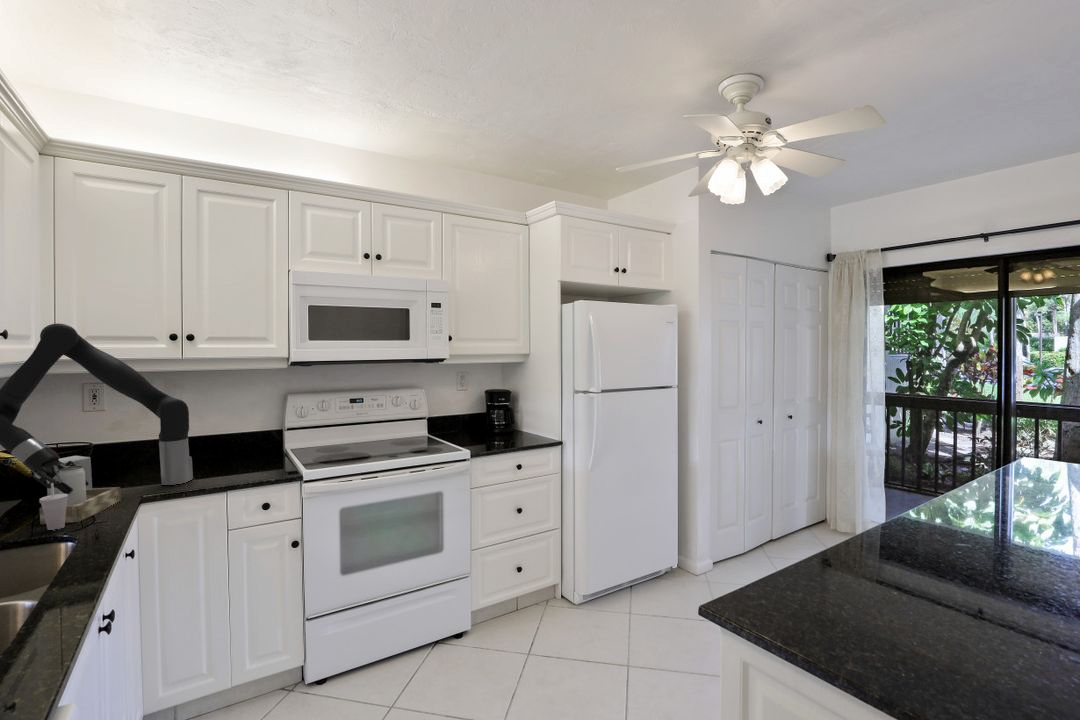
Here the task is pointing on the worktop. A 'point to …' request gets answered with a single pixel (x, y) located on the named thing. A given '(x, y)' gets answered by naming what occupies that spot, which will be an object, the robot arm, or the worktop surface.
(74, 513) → the crate
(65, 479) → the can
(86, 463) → the supplement box
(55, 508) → the smoothie
